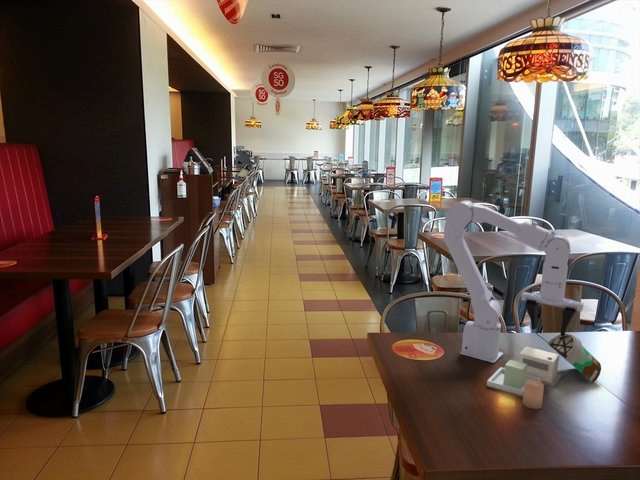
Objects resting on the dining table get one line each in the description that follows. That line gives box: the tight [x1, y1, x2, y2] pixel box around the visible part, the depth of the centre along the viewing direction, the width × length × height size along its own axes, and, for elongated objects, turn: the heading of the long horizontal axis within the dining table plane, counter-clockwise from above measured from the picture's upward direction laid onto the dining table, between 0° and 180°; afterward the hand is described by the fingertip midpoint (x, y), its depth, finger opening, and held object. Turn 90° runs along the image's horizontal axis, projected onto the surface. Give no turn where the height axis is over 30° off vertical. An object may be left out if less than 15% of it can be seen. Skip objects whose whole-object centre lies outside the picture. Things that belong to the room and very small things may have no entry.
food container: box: [546, 333, 602, 384], centre depth 125 cm, size 12×6×10 cm
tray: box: [486, 366, 542, 398], centre depth 120 cm, size 10×10×1 cm
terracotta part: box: [522, 380, 545, 410], centre depth 111 cm, size 4×4×5 cm
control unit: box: [518, 346, 563, 389], centre depth 125 cm, size 10×8×6 cm
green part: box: [503, 359, 527, 389], centre depth 119 cm, size 4×4×5 cm
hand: (548, 331), depth 129 cm, fingers open, 6 cm apart
